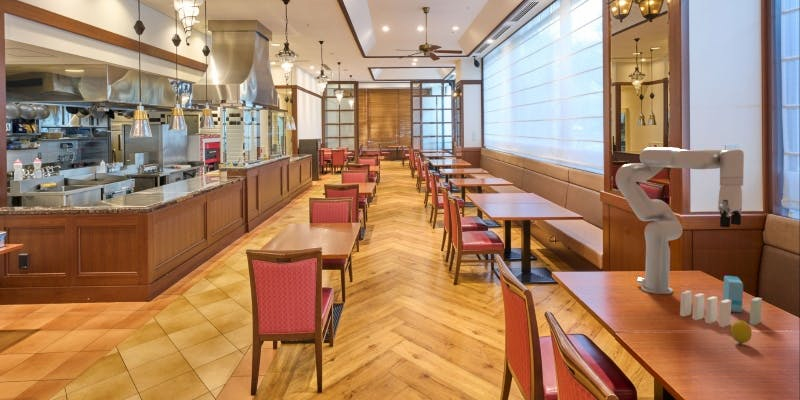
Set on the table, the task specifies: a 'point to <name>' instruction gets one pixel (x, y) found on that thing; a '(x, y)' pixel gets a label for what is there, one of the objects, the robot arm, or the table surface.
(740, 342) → the lemon
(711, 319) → the tile
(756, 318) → the tile
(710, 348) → the table surface
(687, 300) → the tile
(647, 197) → the robot arm
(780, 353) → the table surface
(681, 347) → the table surface
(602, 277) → the table surface
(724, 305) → the tile
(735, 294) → the data package
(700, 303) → the tile
